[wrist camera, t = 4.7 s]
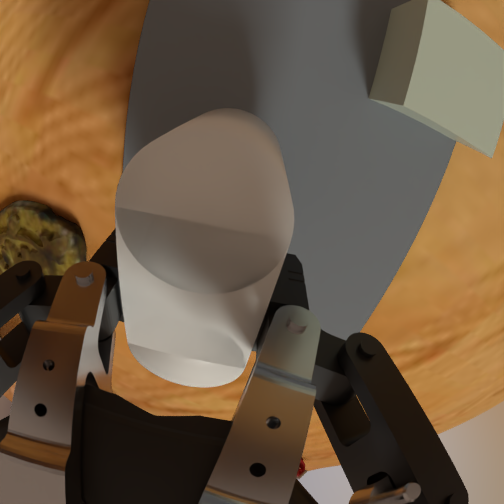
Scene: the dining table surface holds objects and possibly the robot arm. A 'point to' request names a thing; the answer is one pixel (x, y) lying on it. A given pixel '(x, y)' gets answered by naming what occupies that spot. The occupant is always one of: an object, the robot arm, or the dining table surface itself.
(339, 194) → the mat
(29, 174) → the dining table surface
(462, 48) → the block
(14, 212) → the olive teardrop lump
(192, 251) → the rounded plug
